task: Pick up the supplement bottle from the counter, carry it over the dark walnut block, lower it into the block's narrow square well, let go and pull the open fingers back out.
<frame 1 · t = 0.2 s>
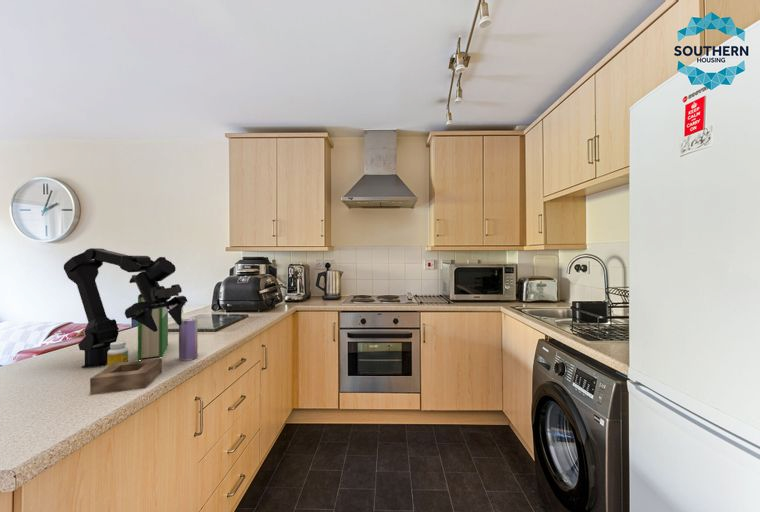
hand: (168, 327, 102), 14 cm above the countertop, tool tilted 30°, fingers open, 9 cm apart
well block: (129, 382, 92), on the countertop
supplement bottle: (117, 371, 102), on the countertop
hardback book: (154, 353, 121), on the countertop
beverage can: (188, 358, 114), on the countertop
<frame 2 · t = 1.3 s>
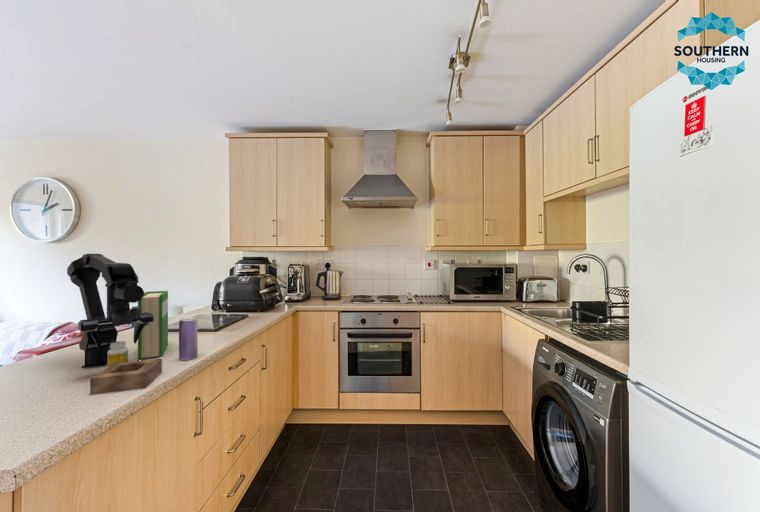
hand: (117, 346, 102), 8 cm above the countertop, tool pointing down, fingers open, 9 cm apart
nothing on the countertop moved.
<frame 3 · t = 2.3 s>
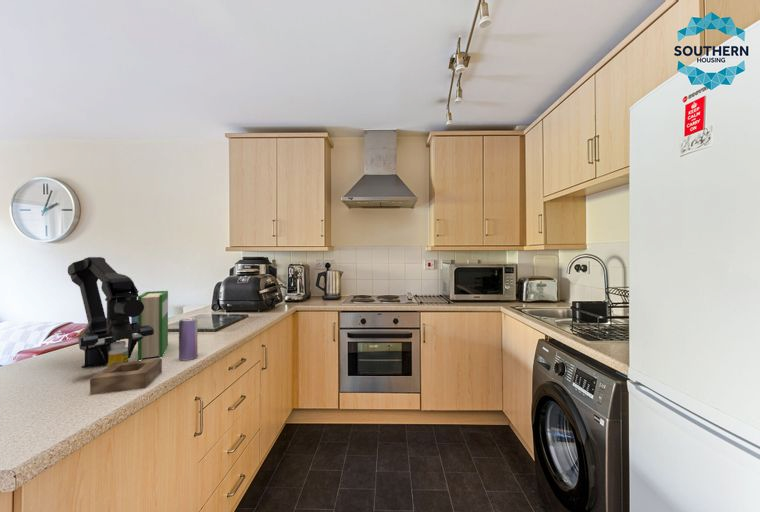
hand: (118, 360, 102), 4 cm above the countertop, tool pointing down, fingers closed on supplement bottle, 5 cm apart
supplement bottle: (117, 371, 102), on the countertop, touching gripper
everything else where it was.
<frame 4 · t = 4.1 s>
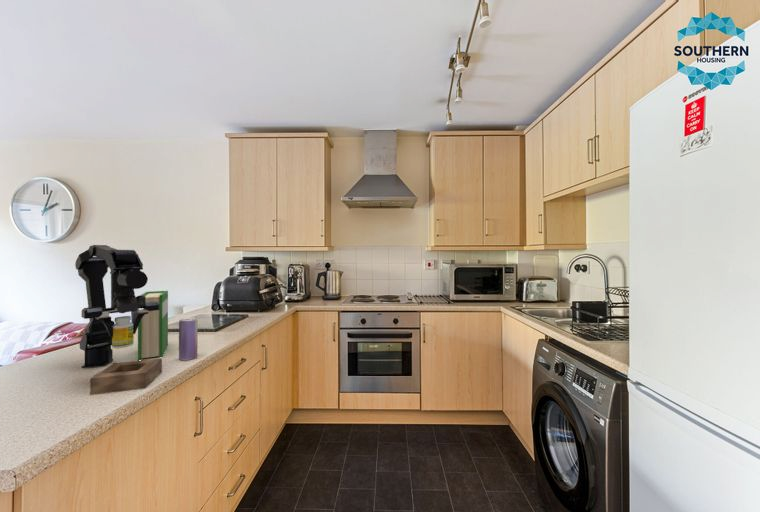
hand: (122, 335, 98), 13 cm above the countertop, tool pointing down, fingers closed on supplement bottle, 5 cm apart
supplement bottle: (123, 347, 98), point 9 cm above the countertop, touching gripper
everything else where it was.
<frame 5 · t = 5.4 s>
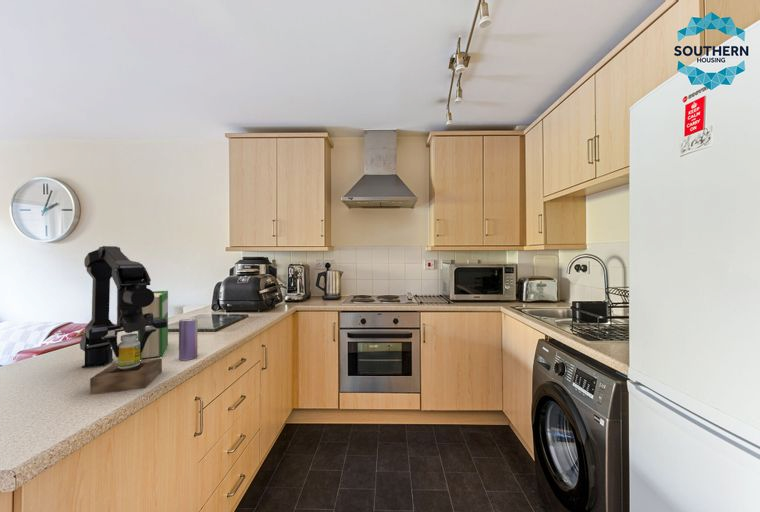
hand: (129, 354, 92), 8 cm above the countertop, tool pointing down, fingers closed on supplement bottle, 5 cm apart
supplement bottle: (129, 366, 92), point 5 cm above the countertop, touching gripper
everything else where it was.
when the fingers open (5 cm above the countertop, at t = 6.3 s): supplement bottle drops 2 cm, resting in well block.
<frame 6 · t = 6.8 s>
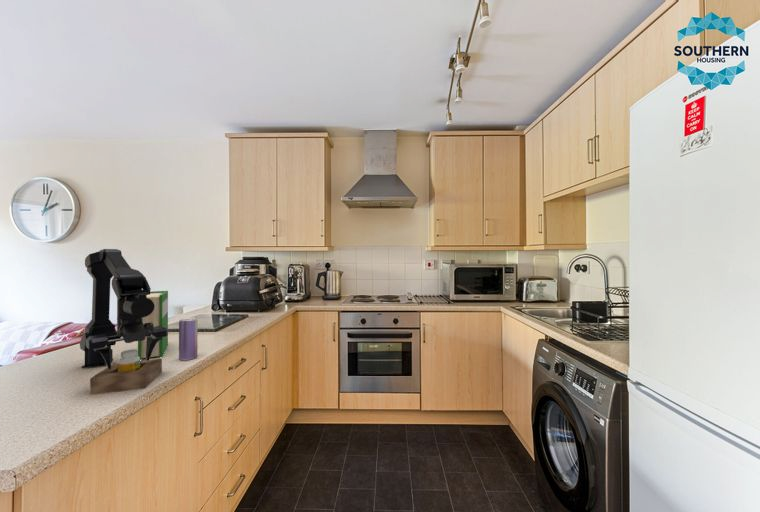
hand: (129, 364, 92), 5 cm above the countertop, tool pointing down, fingers open, 9 cm apart
supplement bottle: (129, 382, 92), resting in well block
everything else where it was.
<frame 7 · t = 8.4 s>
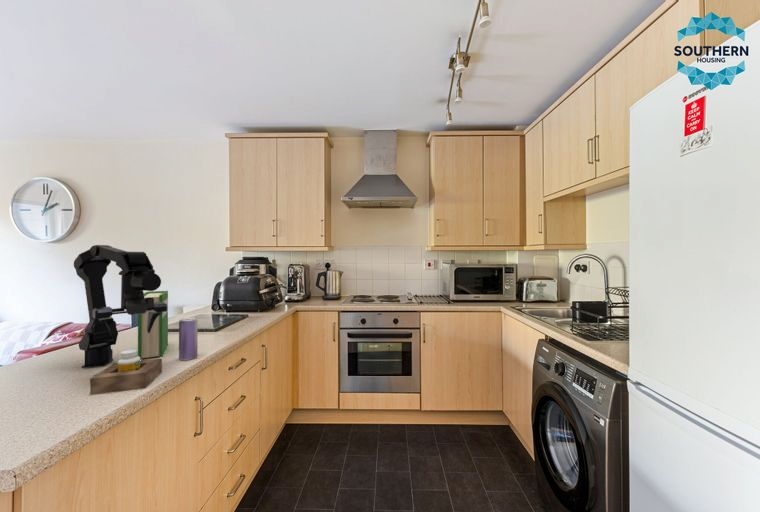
hand: (131, 335, 100), 12 cm above the countertop, tool pointing down, fingers open, 9 cm apart
nothing on the countertop moved.
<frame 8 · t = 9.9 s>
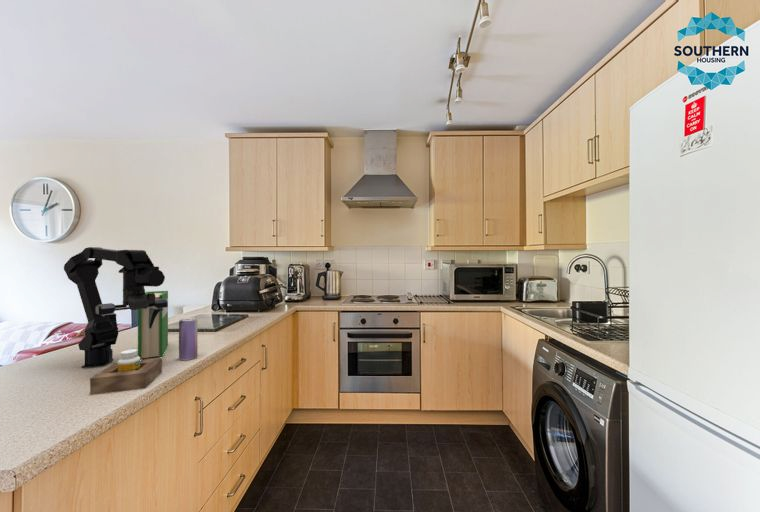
hand: (133, 330, 104), 13 cm above the countertop, tool pointing down, fingers open, 9 cm apart
nothing on the countertop moved.
at the end: supplement bottle 0.1 cm off-centre on the well block, point 0.0 cm above the well block's base; supplement bottle tilted 0°; the gripper is holding nothing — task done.
